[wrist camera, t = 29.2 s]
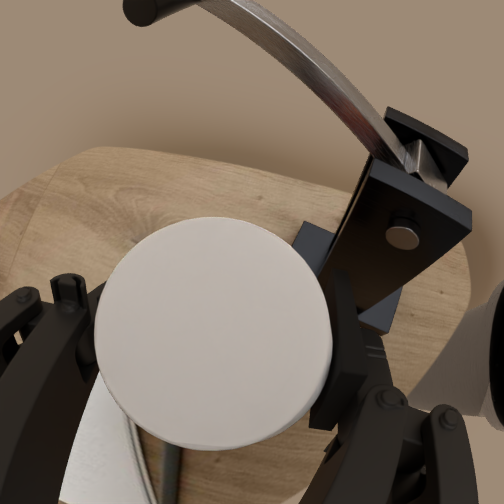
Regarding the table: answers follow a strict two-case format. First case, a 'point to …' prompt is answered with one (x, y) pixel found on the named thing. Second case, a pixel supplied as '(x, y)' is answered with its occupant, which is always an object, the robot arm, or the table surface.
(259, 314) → the pill bottle
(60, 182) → the table surface
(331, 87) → the lever
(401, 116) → the bracket
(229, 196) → the table surface
